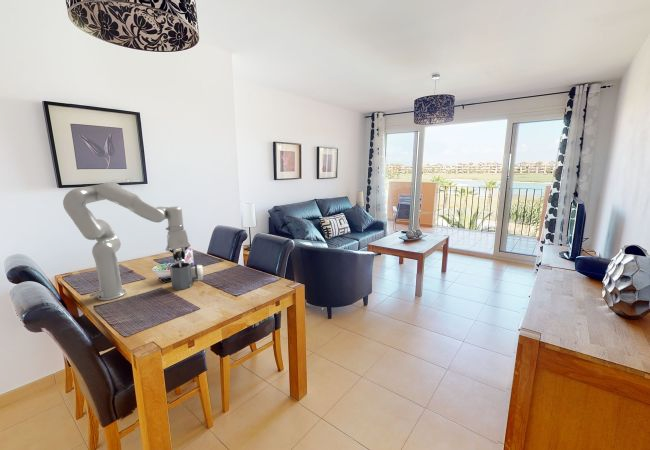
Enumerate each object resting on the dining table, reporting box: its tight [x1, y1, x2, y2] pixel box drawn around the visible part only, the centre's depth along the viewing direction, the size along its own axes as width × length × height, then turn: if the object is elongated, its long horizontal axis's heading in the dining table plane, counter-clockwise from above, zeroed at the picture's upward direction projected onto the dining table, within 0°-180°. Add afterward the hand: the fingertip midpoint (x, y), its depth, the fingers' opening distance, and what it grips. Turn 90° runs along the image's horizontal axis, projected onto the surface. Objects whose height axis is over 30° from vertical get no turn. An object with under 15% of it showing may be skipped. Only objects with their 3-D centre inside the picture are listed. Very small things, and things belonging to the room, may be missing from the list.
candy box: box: [173, 247, 195, 265], centre depth 186 cm, size 14×6×16 cm, turn 179°
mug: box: [191, 264, 204, 282], centre depth 181 cm, size 7×9×8 cm
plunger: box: [174, 250, 185, 268], centre depth 167 cm, size 8×8×20 cm
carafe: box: [169, 263, 198, 291], centre depth 169 cm, size 14×10×13 cm
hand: (179, 258), depth 166 cm, fingers closed on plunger, 3 cm apart
